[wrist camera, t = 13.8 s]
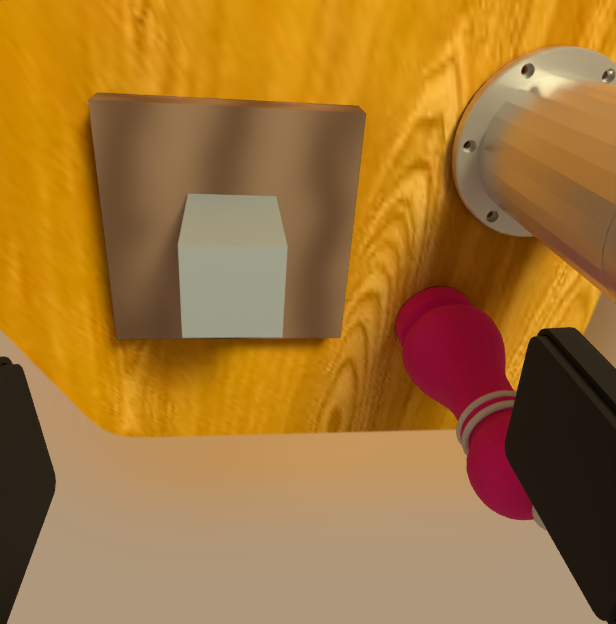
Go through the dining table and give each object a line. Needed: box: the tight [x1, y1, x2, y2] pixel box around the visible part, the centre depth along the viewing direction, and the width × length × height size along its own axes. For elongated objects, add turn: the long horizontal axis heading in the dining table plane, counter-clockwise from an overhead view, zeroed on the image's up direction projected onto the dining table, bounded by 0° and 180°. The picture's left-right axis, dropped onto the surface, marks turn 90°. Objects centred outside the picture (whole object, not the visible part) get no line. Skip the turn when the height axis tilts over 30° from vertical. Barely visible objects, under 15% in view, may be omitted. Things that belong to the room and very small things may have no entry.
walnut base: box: [88, 93, 366, 340], centre depth 38 cm, size 16×16×2 cm
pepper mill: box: [396, 287, 547, 530], centre depth 36 cm, size 7×7×20 cm
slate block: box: [178, 194, 288, 338], centre depth 33 cm, size 6×6×8 cm
